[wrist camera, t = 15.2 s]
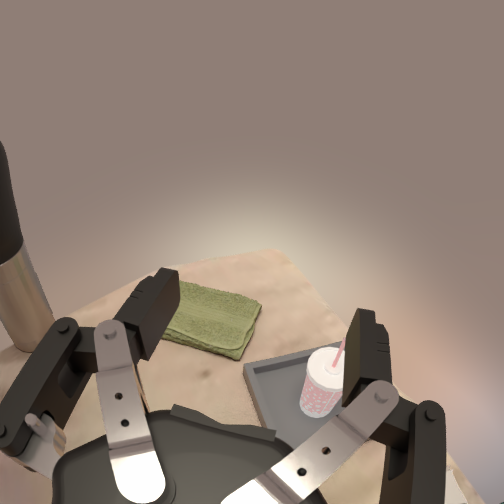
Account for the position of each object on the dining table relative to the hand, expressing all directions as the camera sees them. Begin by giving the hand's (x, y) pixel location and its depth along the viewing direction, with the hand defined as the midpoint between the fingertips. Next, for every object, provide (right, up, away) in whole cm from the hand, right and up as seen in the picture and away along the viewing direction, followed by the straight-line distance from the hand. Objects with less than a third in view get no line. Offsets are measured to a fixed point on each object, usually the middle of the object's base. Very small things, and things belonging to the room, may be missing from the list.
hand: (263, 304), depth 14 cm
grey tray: (+8, -19, +26) cm, 33 cm away
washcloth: (-9, -10, +39) cm, 41 cm away
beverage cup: (+8, -18, +26) cm, 33 cm away
